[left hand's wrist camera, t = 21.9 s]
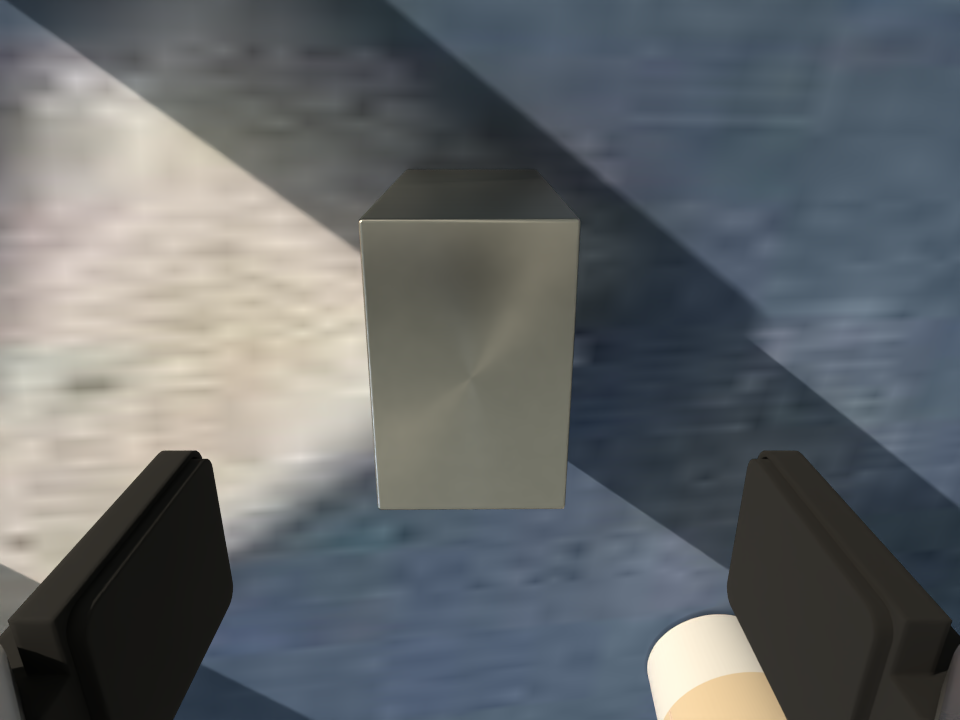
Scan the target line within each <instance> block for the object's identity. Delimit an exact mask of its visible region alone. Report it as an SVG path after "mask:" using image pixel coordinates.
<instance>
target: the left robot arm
mask: <svg viewBox="0 0 960 720" xmlns="http://www.w3.org/2000/svg"><path fill="white" fill-rule="evenodd" d="M232 593H233V582H232V576H231V570H230V564H229V559H228V553H227V547H226V541H225V536H224V530H223V524H222V519H221V513H220V507H219V501H218V496H217V490H216V484H215V479H214V473H213V467H212V464H211V462H210V460H208V459H202V456H201V455H200V453H199V452H197V451H161V452H160V453H159V454H158V455H157V456H156V457H155V458H154V459H153V460H152V461H151V463H150V464H149V465H148V466H147V467H146V468H145V469H144V470H143V471H142V472H141V474H140V475H139V476H138V477H137V478H136V479H135V480H134V481H133V482H132V484H131V485H130V486H129V487H128V488H127V489H126V490H125V491H124V492H123V494H122V495H121V496H120V497H119V498H118V499H117V500H116V501H115V502H114V503H113V505H112V506H111V507H110V508H109V509H108V510H107V511H106V512H105V513H104V515H103V516H102V517H101V518H100V519H99V520H98V521H97V522H96V523H95V525H94V526H93V527H92V528H91V529H90V530H89V531H88V532H87V533H86V534H85V536H84V537H83V538H82V539H81V540H80V541H79V542H78V543H77V544H76V546H75V547H74V548H73V549H72V550H71V551H70V552H69V553H68V554H67V556H66V557H65V558H64V559H63V560H62V561H61V562H60V563H59V564H58V565H57V567H56V568H55V569H54V570H53V571H52V572H51V573H50V574H49V575H48V577H47V578H46V579H45V580H44V581H43V582H42V583H41V584H40V585H39V587H38V588H37V589H36V590H35V591H34V592H33V593H32V594H31V595H30V597H29V598H28V599H27V600H26V601H25V602H24V603H23V604H22V605H21V606H20V608H19V609H18V610H17V611H16V612H15V613H14V614H13V615H12V616H11V618H10V619H9V620H8V623H9V627H8V628H7V629H6V630H5V631H4V632H3V633H2V635H1V636H0V720H173V719H174V717H175V715H176V713H177V711H178V709H179V707H180V705H181V703H182V701H183V699H184V697H185V695H186V692H187V690H188V688H189V686H190V684H191V682H192V680H193V678H194V676H195V674H196V672H197V670H198V668H199V666H200V664H201V662H202V660H203V658H204V656H205V654H206V652H207V650H208V648H209V646H210V644H211V642H212V640H213V638H214V636H215V634H216V632H217V630H218V628H219V626H220V624H221V622H222V620H223V617H224V615H225V613H226V611H227V609H228V607H229V605H230V602H231V599H232ZM727 593H728V599H729V602H730V605H731V607H732V609H733V611H734V613H735V615H736V617H737V620H738V622H739V624H740V626H741V628H742V630H743V632H744V634H745V636H746V638H747V640H748V642H749V644H750V646H751V648H752V650H753V652H754V654H755V656H756V658H757V660H758V662H759V664H760V666H761V668H762V670H763V672H764V674H765V676H766V678H767V680H768V682H769V684H770V686H771V688H772V690H773V692H774V695H775V697H776V699H777V701H778V703H779V705H780V707H781V709H782V711H783V713H784V715H785V717H786V719H787V720H960V636H959V635H958V633H957V632H956V631H955V630H954V629H953V628H952V627H951V623H952V620H951V619H950V618H949V616H948V615H947V614H946V613H945V612H944V611H943V610H942V609H941V608H940V606H939V605H938V604H937V603H936V602H935V601H934V600H933V599H932V598H931V597H930V595H929V594H928V593H927V592H926V591H925V590H924V589H923V588H922V587H921V585H920V584H919V583H918V582H917V581H916V580H915V579H914V578H913V577H912V575H911V574H910V573H909V572H908V571H907V570H906V569H905V568H904V567H903V565H902V564H901V563H900V562H899V561H898V560H897V559H896V558H895V557H894V556H893V554H892V553H891V552H890V551H889V550H888V549H887V548H886V547H885V546H884V544H883V543H882V542H881V541H880V540H879V539H878V538H877V537H876V536H875V534H874V533H873V532H872V531H871V530H870V529H869V528H868V527H867V526H866V525H865V523H864V522H863V521H862V520H861V519H860V518H859V517H858V516H857V515H856V513H855V512H854V511H853V510H852V509H851V508H850V507H849V506H848V505H847V503H846V502H845V501H844V500H843V499H842V498H841V497H840V496H839V495H838V494H837V492H836V491H835V490H834V489H833V488H832V487H831V486H830V485H829V484H828V482H827V481H826V480H825V479H824V478H823V477H822V476H821V475H820V474H819V472H818V471H817V470H816V469H815V468H814V467H813V466H812V465H811V464H810V463H809V461H808V460H807V459H806V458H805V457H804V456H803V455H802V454H801V453H800V452H799V451H763V452H761V453H760V455H759V456H758V459H752V460H750V462H749V464H748V467H747V473H746V479H745V484H744V490H743V496H742V501H741V507H740V513H739V519H738V524H737V530H736V536H735V541H734V547H733V553H732V559H731V564H730V570H729V576H728V582H727Z"/></svg>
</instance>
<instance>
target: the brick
mask: <svg viewBox="0 0 960 720" xmlns="http://www.w3.org/2000/svg"><path fill="white" fill-rule="evenodd" d="M580 230H581V221H580V219H579V218H578V217H577V215H576V214H575V213H574V212H573V211H572V210H571V209H570V208H569V206H568V205H567V204H566V203H565V202H564V201H563V200H562V198H561V197H560V196H559V195H558V194H557V193H556V192H555V191H554V189H553V188H552V187H551V186H550V185H549V184H548V183H547V182H546V180H545V179H544V178H543V177H542V176H541V175H540V174H539V172H538V171H537V170H406V171H405V172H404V173H403V174H402V175H401V176H400V177H399V178H398V179H397V180H396V181H395V183H394V184H393V185H392V186H391V187H390V188H389V189H388V190H387V191H386V192H385V193H384V194H383V195H382V196H381V197H380V198H379V200H378V201H377V202H376V203H375V204H374V205H373V206H372V207H371V208H370V209H369V210H368V211H367V212H366V213H365V214H364V215H363V217H362V218H361V219H360V220H359V238H360V252H361V267H362V281H363V296H364V311H365V325H366V340H367V354H368V369H369V384H370V398H371V413H372V427H373V442H374V457H375V471H376V486H377V500H378V508H379V509H380V510H420V509H562V508H564V506H565V496H566V478H567V461H568V443H569V425H570V407H571V390H572V372H573V354H574V337H575V319H576V301H577V283H578V266H579V248H580Z"/></svg>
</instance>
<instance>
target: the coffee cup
mask: <svg viewBox="0 0 960 720" xmlns="http://www.w3.org/2000/svg"><path fill="white" fill-rule="evenodd" d="M647 670H648V677H649V681H650V686H651V691H652V695H653V700H654V705H655V710H656V714H657V719H658V720H787V719H786V717H785V715H784V713H783V711H782V709H781V707H780V705H779V703H778V701H777V699H776V697H775V695H774V692H773V690H772V688H771V686H770V684H769V682H768V680H767V678H766V676H765V674H764V672H763V670H762V668H761V666H760V664H759V662H758V660H757V658H756V656H755V654H754V652H753V650H752V648H751V646H750V644H749V642H748V640H747V638H746V636H745V634H744V632H743V630H742V628H741V626H740V624H739V622H738V620H737V617H736V616H732V615H723V614H716V615H706V616H701V617H697V618H694V619H690V620H688V621H685V622H683V623H681V624H679V625H677V626H676V627H674V628H672V629H671V630H670V631H668V632H667V633H666V634H665V635H663V636H662V637H661V638H660V640H659V641H658V642H657V643H656V645H655V646H654V648H653V649H652V651H651V653H650V656H649V659H648V666H647Z"/></svg>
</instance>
